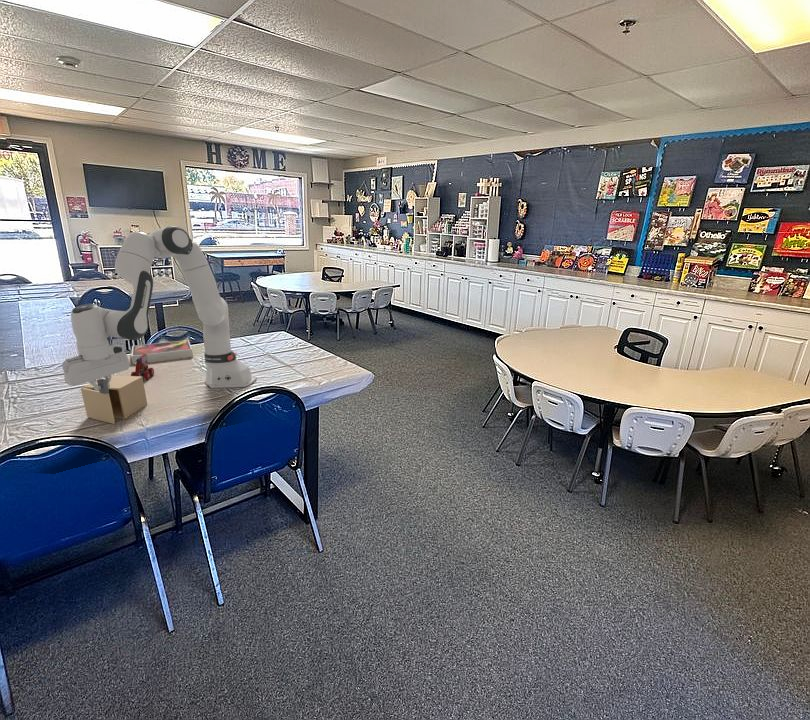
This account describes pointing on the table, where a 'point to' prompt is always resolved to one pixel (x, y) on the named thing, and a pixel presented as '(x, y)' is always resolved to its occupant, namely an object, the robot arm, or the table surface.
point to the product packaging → (162, 351)
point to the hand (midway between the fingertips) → (102, 389)
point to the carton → (125, 395)
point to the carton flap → (98, 403)
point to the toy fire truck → (143, 368)
